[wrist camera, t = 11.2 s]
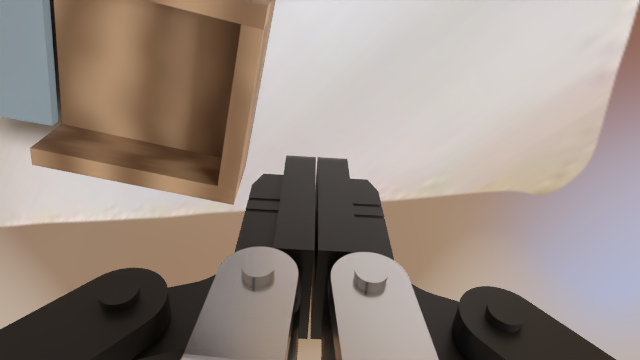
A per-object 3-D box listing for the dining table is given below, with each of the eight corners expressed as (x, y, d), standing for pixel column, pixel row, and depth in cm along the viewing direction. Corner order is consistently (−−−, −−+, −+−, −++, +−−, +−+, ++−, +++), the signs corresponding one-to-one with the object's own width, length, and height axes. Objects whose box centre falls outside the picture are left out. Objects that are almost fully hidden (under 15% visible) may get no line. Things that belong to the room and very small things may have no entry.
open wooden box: (276, -7, 35) (267, 6, 29) (245, 166, 43) (233, 204, 37) (63, -63, 33) (6, -62, 27) (74, 130, 41) (32, 164, 35)
